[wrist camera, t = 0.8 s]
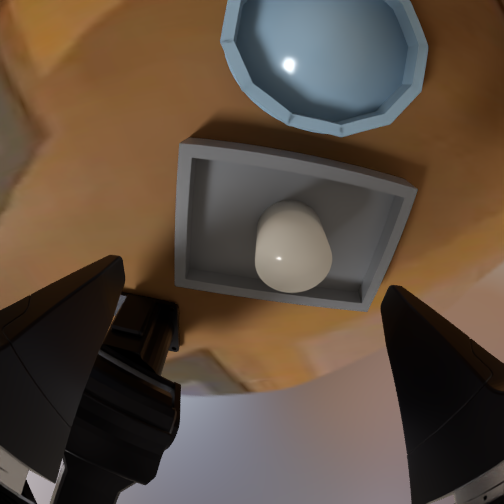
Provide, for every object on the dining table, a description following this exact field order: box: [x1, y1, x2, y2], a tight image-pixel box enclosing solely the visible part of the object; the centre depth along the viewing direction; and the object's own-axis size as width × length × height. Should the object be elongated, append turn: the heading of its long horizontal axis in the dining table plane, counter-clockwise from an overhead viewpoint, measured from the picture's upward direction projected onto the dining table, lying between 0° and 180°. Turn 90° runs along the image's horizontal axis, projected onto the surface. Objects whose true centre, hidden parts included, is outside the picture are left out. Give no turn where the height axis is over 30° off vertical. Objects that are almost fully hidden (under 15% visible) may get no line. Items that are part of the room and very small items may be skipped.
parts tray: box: [175, 137, 418, 312], centre depth 20 cm, size 10×15×2 cm
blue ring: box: [220, 0, 428, 137], centre depth 13 cm, size 12×12×2 cm
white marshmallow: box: [255, 200, 332, 293], centre depth 18 cm, size 4×4×4 cm
